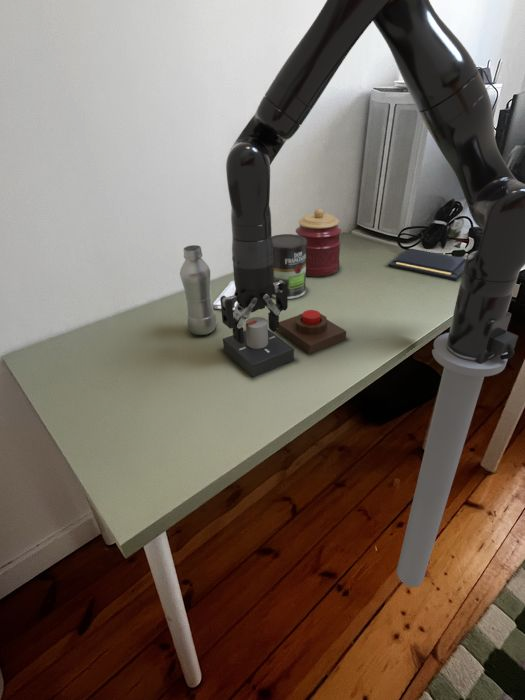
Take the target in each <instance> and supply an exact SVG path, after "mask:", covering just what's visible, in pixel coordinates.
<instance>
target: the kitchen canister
mask: <svg viewBox="0 0 525 700" xmlns="http://www.w3.org/2000/svg"><path fill="white" fill-rule="evenodd" d="M339 224H340V220H339V219H338V218H336V217H335V216H334V215H332V214H330V213H326V212H324V210H323V209H322V208H316V209H315V210H314V212H313V213H309V214H305V215H304V216H303V217H301V218H300V219H299V220H298V226H296V228H295V229H294V230H295V233H296V235H299V236H303V237H305V238H306V239H307V244H306V277H307V276H308V277H314V278H315V277H316V278H319V277H321V278H322V277H329V276H331V275H334V274H336V273H337V272H338V271H339V268H340V254H341V253H340V252H341V243H342V241H341V238H340V234H341V233H342V232H343V231H342V227H341V226H339Z"/></svg>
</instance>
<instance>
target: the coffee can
mask: <svg viewBox="0 0 525 700" xmlns="http://www.w3.org/2000/svg"><path fill="white" fill-rule="evenodd" d="M272 242H273V259H274V282H273V283H276V280H278V279H280V280H282V281H283V282H285V283H286V284H287V300H294V299H297V298H300V297H302V296H304V295H305V294H306V292H307V290H306V289H307V288H306V282H307V280H306V279H307V278H306V277H307V275H306V244H307V239H306V238H305V237H303V236H299V235H297V234H292V233H283V234H282V233H281V234H276V235H272ZM272 297H273V298H275V299H276V292H275V291H274V293H273V295H272Z"/></svg>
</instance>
